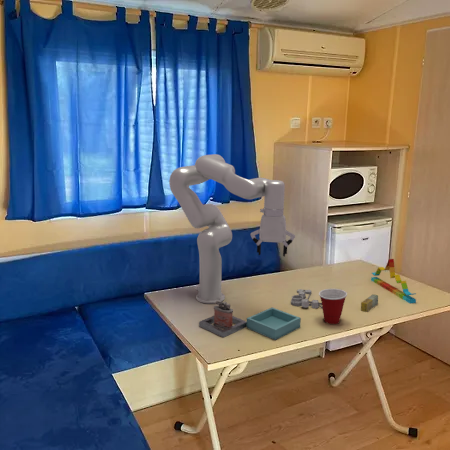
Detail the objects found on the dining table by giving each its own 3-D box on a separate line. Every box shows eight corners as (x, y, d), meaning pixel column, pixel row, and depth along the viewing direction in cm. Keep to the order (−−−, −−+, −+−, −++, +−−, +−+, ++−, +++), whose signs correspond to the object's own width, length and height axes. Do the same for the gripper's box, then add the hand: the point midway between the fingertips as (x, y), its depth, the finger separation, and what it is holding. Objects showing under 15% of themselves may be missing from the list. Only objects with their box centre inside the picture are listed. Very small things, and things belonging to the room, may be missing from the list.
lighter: (234, 327, 182) (234, 302, 180) (229, 330, 179) (230, 305, 177) (216, 322, 186) (217, 298, 184) (212, 325, 183) (212, 301, 181)
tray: (246, 327, 182) (246, 318, 181) (271, 316, 192) (272, 307, 191) (275, 340, 172) (275, 329, 171) (300, 327, 182) (300, 317, 181)
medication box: (372, 302, 208) (372, 293, 207) (378, 304, 206) (378, 295, 205) (360, 311, 199) (360, 302, 198) (366, 312, 197) (367, 303, 196)
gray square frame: (199, 326, 183) (199, 321, 182) (223, 316, 192) (223, 311, 191) (223, 337, 174) (223, 332, 173) (247, 326, 183) (247, 321, 182)
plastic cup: (315, 315, 194) (316, 287, 191) (342, 315, 193) (343, 287, 191) (319, 326, 183) (321, 297, 180) (347, 327, 183) (350, 298, 180)
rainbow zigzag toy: (416, 303, 208) (419, 270, 204) (409, 304, 207) (413, 271, 204) (376, 280, 236) (379, 251, 233) (371, 281, 235) (373, 251, 232)
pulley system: (307, 319, 192) (339, 312, 197) (307, 308, 191) (339, 301, 196) (277, 297, 217) (307, 292, 222) (277, 287, 216) (306, 282, 221)
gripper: (250, 213, 182) (249, 256, 186) (296, 215, 180) (294, 258, 184) (251, 209, 189) (250, 251, 193) (295, 211, 187) (293, 253, 191)
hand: (271, 254), depth 189 cm, fingers open, 9 cm apart
